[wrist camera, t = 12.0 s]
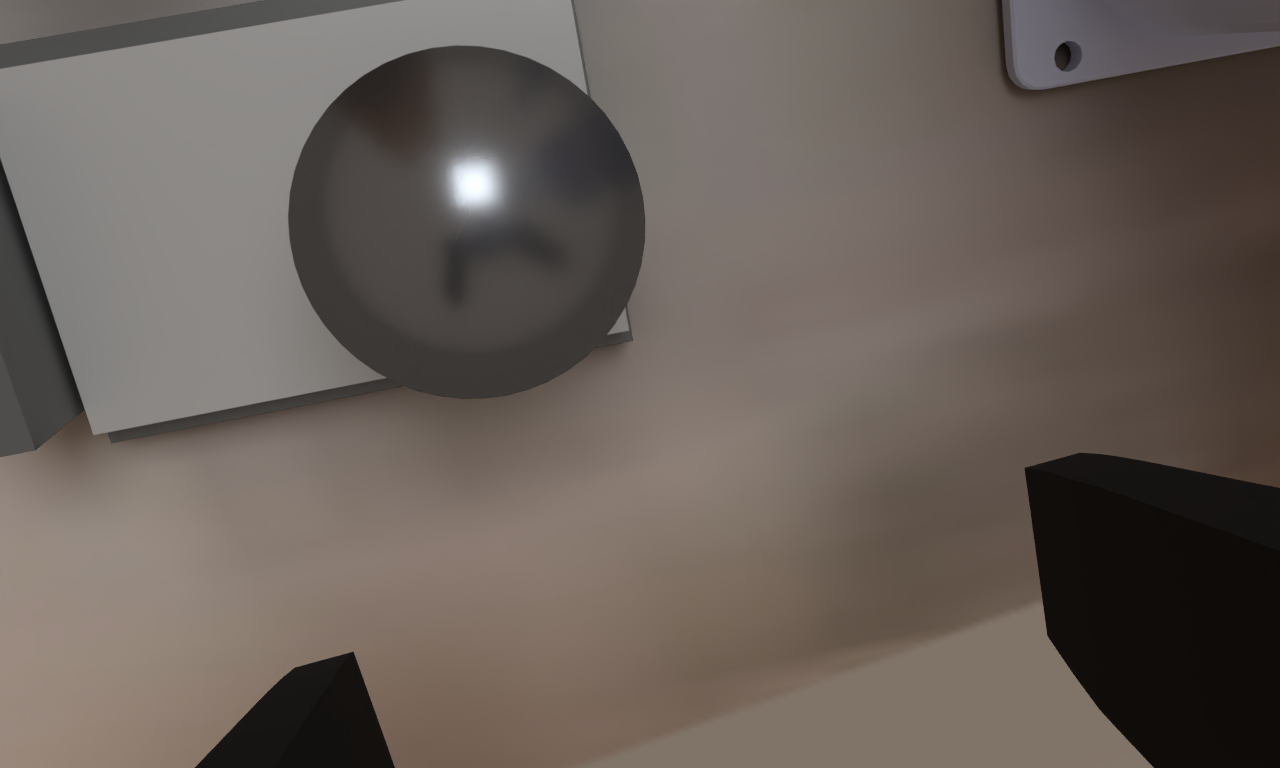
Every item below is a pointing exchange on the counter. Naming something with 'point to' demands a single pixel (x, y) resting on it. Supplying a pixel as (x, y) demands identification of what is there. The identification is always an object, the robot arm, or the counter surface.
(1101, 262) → the counter surface
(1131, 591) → the robot arm
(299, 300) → the dial scale
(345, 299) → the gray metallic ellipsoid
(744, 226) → the counter surface
